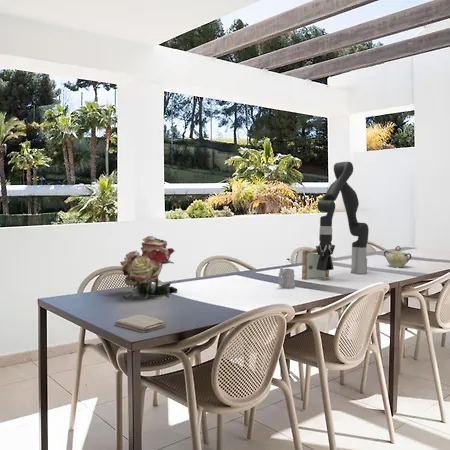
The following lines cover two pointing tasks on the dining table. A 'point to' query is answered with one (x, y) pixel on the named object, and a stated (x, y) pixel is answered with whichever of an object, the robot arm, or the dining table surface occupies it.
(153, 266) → the rose bouquet
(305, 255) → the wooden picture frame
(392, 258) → the sugar bowl
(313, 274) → the door
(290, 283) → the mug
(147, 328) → the washcloth
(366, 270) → the robot arm
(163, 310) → the dining table surface
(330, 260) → the phone stand
